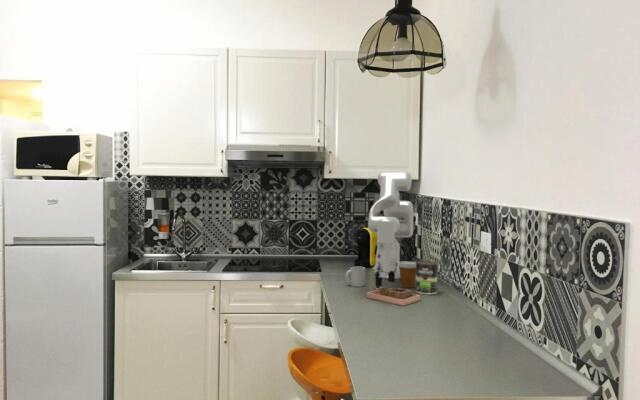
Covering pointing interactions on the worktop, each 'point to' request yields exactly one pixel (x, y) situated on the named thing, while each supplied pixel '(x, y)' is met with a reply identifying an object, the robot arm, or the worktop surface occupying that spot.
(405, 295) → the brown square frame
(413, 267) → the disposable coffee cup
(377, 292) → the tray
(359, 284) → the cup
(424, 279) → the coffee can
